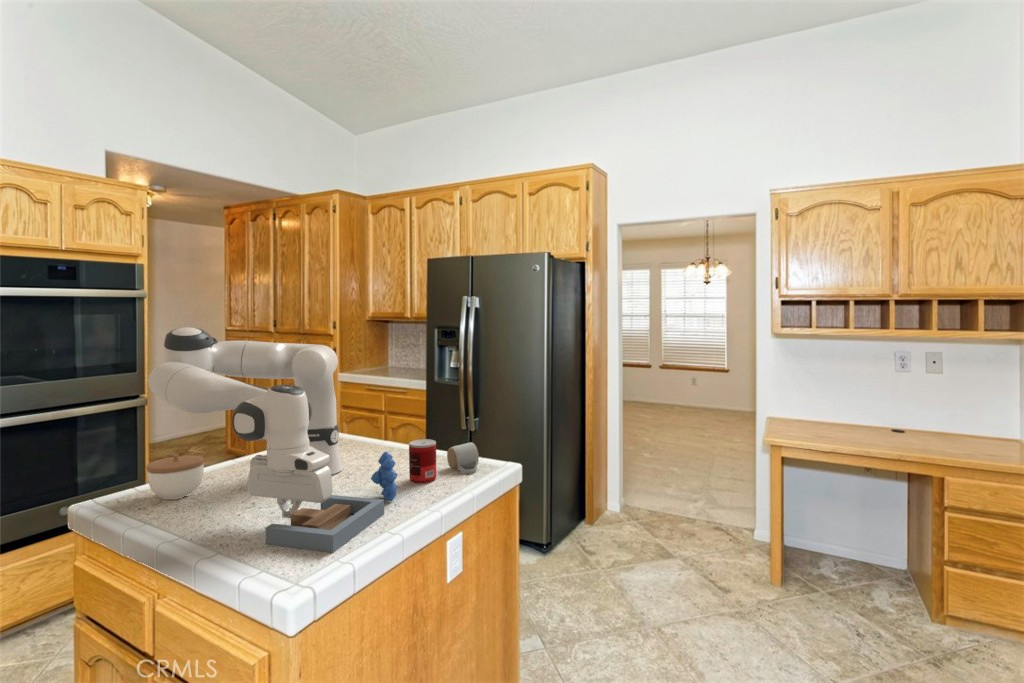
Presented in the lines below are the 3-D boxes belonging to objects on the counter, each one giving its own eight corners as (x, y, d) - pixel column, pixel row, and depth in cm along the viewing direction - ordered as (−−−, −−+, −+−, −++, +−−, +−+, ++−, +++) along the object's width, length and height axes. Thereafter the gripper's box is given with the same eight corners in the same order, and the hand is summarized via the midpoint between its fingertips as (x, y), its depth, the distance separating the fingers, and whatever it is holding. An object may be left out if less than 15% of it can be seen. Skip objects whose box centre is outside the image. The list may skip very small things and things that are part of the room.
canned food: (439, 475, 145) (438, 439, 145) (432, 484, 137) (431, 445, 137) (414, 475, 146) (413, 438, 145) (406, 483, 138) (405, 445, 137)
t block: (278, 535, 105) (277, 521, 104) (313, 514, 116) (313, 501, 116) (318, 539, 102) (318, 525, 102) (350, 517, 114) (350, 505, 114)
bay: (265, 544, 100) (265, 527, 100) (325, 508, 120) (325, 494, 120) (333, 552, 96) (333, 535, 96) (384, 514, 116) (384, 499, 116)
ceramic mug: (445, 467, 154) (445, 443, 153) (469, 463, 158) (469, 439, 157) (459, 476, 144) (459, 451, 144) (484, 472, 149) (483, 447, 148)
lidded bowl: (182, 504, 123) (180, 461, 123) (135, 503, 124) (133, 460, 124) (215, 487, 136) (214, 448, 136) (172, 487, 137) (171, 448, 136)
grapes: (366, 494, 129) (366, 449, 129) (392, 490, 132) (391, 446, 132) (375, 509, 119) (374, 460, 119) (402, 504, 122) (402, 457, 122)
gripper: (239, 457, 110) (241, 518, 110) (318, 464, 104) (319, 527, 105) (261, 450, 116) (262, 508, 116) (335, 456, 110) (337, 516, 111)
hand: (290, 517), depth 110 cm, fingers closed
